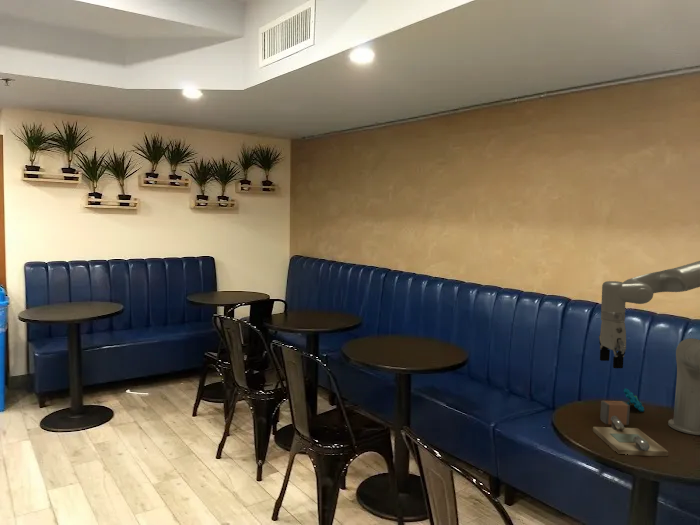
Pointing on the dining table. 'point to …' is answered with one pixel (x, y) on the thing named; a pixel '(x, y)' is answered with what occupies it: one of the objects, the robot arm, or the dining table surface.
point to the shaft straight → (641, 443)
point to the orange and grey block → (615, 411)
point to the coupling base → (628, 441)
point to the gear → (633, 400)
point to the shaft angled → (617, 423)
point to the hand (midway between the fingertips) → (611, 364)
